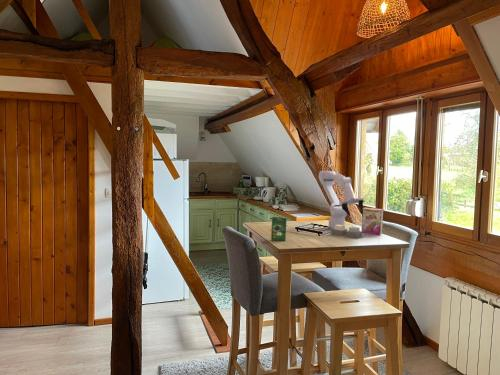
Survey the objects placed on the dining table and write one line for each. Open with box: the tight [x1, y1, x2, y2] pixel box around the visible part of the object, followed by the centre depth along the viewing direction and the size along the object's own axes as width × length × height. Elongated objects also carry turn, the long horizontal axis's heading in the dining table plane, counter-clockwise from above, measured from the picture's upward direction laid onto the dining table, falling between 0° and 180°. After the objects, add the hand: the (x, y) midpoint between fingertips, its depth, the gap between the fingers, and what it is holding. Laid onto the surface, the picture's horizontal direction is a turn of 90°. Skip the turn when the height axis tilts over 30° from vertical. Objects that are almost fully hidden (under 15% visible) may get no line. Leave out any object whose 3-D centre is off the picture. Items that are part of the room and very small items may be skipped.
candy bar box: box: [361, 207, 384, 236], centre depth 233 cm, size 11×5×16 cm, turn 59°
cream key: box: [334, 225, 346, 231], centre depth 229 cm, size 4×4×3 cm
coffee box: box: [270, 216, 287, 242], centre depth 217 cm, size 8×3×13 cm, turn 88°
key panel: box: [329, 228, 365, 240], centre depth 226 cm, size 18×9×4 cm, turn 51°
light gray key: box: [348, 226, 361, 233], centre depth 223 cm, size 4×4×3 cm
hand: (355, 214), depth 226 cm, fingers open, 7 cm apart
